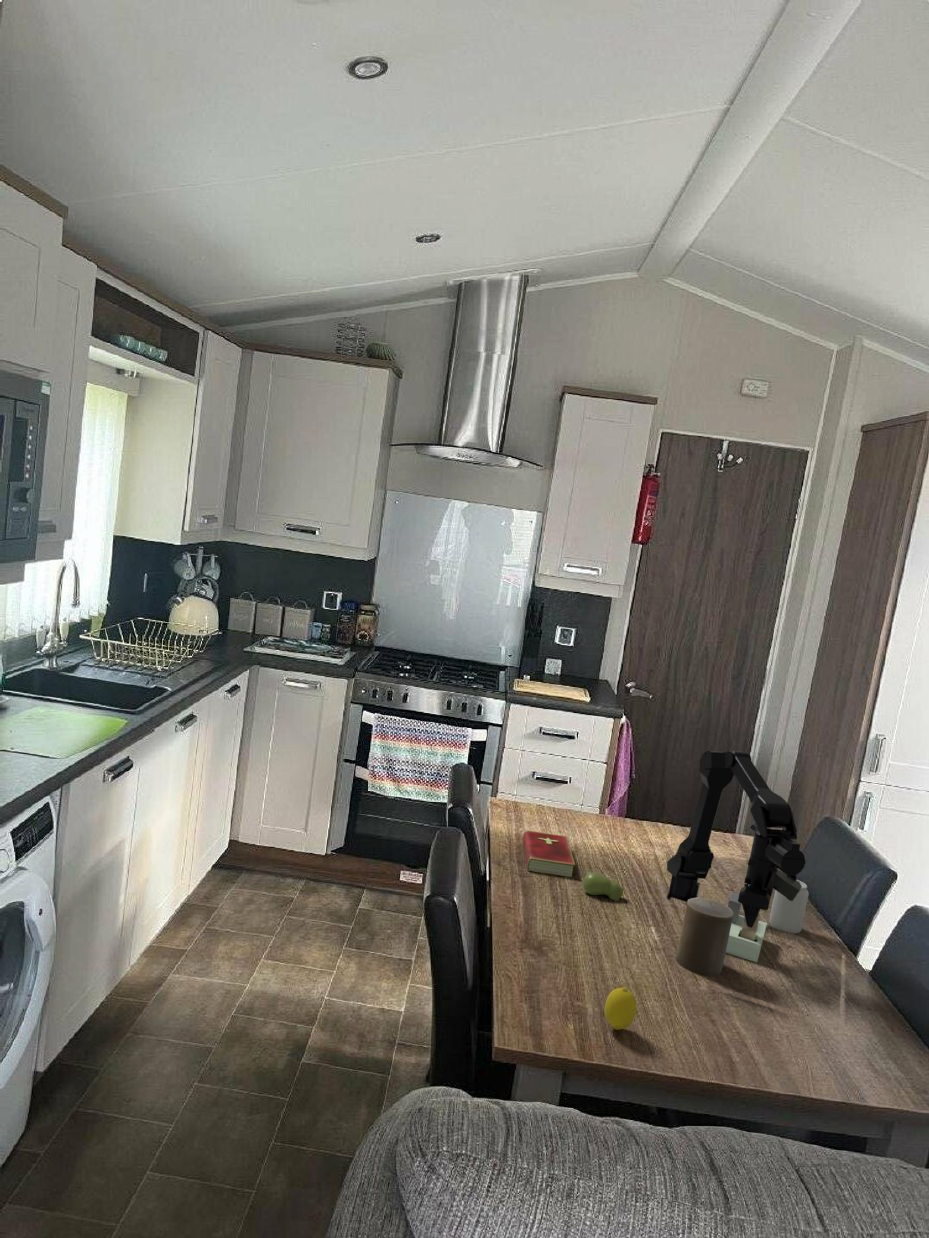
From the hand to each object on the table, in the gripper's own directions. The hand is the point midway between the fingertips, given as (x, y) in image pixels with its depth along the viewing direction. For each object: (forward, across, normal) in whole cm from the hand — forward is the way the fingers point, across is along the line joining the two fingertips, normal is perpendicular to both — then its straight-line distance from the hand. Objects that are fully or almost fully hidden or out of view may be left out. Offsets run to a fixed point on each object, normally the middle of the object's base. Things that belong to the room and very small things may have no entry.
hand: (750, 924), depth 205 cm
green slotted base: (+4, +4, +2) cm, 6 cm away
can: (+8, +24, -7) cm, 26 cm away
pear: (+8, +10, +35) cm, 38 cm away
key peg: (+6, 0, 0) cm, 6 cm away
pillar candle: (+8, -13, +8) cm, 17 cm away
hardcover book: (+8, +23, +54) cm, 59 cm away
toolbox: (+8, +4, +2) cm, 9 cm away
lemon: (+8, -49, +17) cm, 52 cm away
